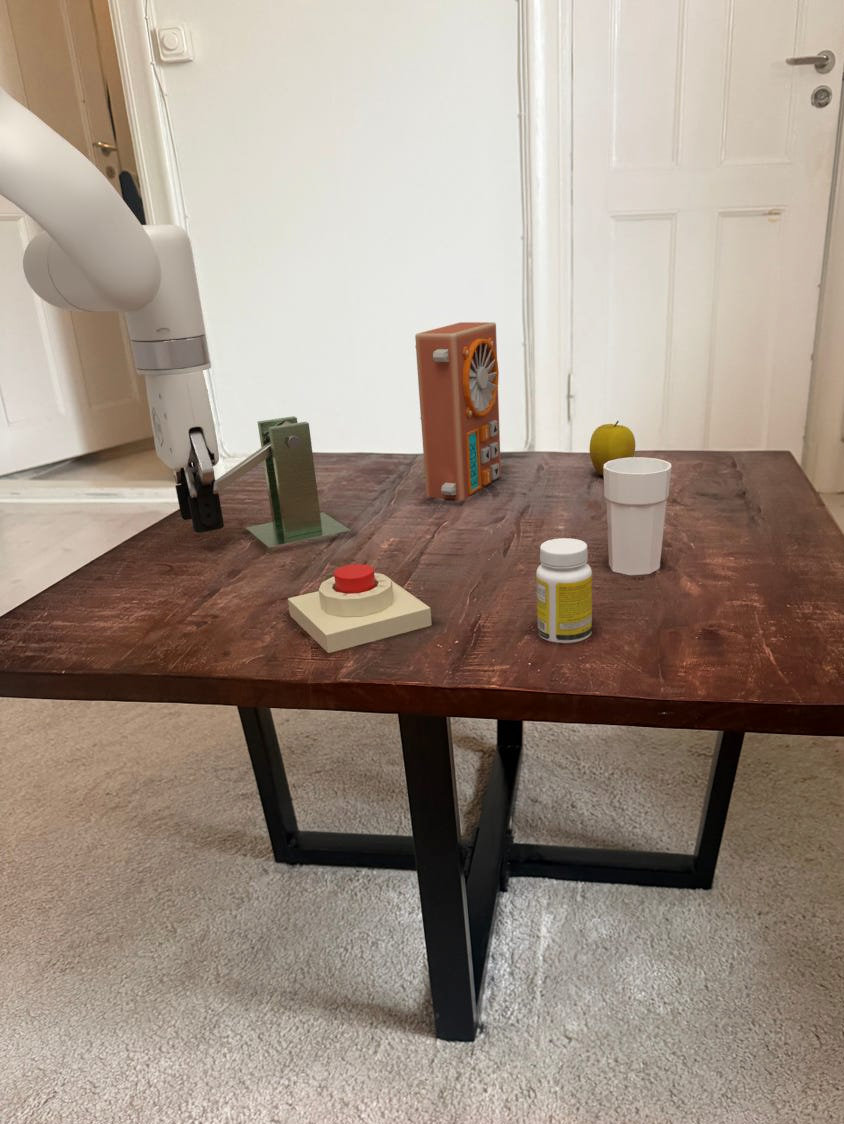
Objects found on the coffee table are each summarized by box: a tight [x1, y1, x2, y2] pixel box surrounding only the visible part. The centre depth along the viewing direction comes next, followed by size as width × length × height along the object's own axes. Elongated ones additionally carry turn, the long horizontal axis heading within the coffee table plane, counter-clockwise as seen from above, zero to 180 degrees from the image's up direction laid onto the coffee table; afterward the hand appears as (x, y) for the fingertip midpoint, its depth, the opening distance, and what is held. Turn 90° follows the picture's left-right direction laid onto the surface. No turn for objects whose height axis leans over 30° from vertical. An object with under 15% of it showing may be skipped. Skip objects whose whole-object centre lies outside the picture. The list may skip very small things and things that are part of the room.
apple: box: [589, 420, 636, 477], centre depth 124 cm, size 6×6×8 cm
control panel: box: [414, 321, 502, 501], centre depth 116 cm, size 21×7×15 cm
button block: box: [287, 572, 433, 654], centre depth 82 cm, size 10×10×4 cm
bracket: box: [245, 415, 351, 548], centre depth 104 cm, size 10×9×14 cm
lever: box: [187, 421, 291, 498], centre depth 101 cm, size 14×5×2 cm, turn 120°
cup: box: [603, 456, 672, 576], centre depth 90 cm, size 7×7×11 cm
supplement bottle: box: [535, 537, 593, 644], centre depth 77 cm, size 5×5×8 cm
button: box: [333, 563, 376, 594], centre depth 81 cm, size 4×4×2 cm
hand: (202, 521), depth 100 cm, fingers closed on lever, 5 cm apart
